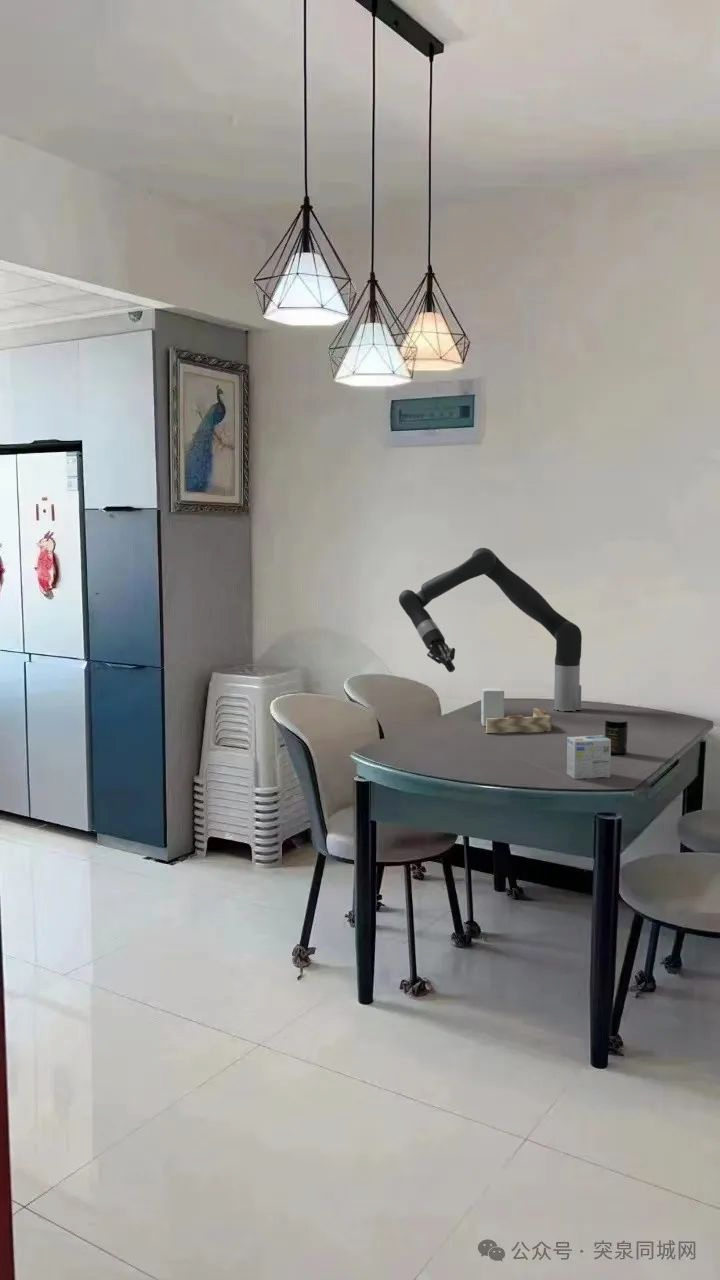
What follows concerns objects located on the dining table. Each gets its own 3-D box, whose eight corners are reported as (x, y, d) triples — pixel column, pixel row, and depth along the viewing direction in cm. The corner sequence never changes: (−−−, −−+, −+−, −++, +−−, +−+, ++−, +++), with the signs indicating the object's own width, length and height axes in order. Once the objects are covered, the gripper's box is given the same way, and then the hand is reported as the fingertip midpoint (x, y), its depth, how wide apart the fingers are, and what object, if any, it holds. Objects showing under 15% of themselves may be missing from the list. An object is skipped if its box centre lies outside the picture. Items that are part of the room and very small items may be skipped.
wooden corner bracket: (536, 721, 347) (536, 706, 347) (551, 731, 331) (552, 715, 330) (474, 724, 344) (474, 708, 344) (486, 733, 328) (487, 717, 327)
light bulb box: (601, 771, 276) (602, 734, 275) (611, 777, 270) (612, 739, 269) (565, 773, 275) (566, 736, 274) (574, 779, 268) (575, 741, 267)
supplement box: (504, 726, 339) (504, 690, 338) (482, 726, 340) (483, 690, 338) (501, 722, 347) (502, 687, 345) (480, 722, 347) (480, 687, 346)
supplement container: (627, 756, 294) (627, 722, 293) (603, 755, 296) (604, 721, 295) (627, 751, 301) (628, 718, 300) (604, 750, 303) (605, 717, 301)
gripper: (422, 628, 359) (444, 665, 351) (448, 626, 367) (470, 663, 359) (412, 641, 364) (434, 678, 355) (438, 639, 372) (460, 675, 364)
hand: (452, 670), depth 357 cm, fingers closed
